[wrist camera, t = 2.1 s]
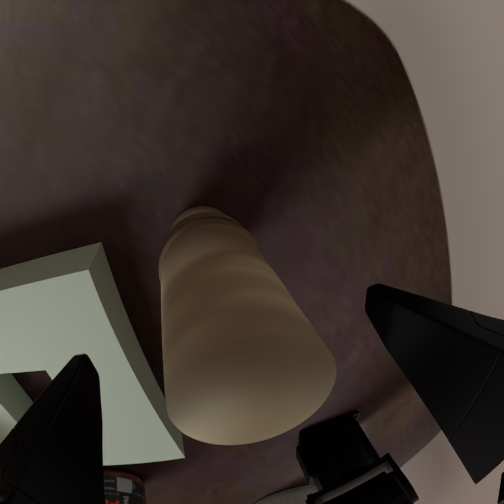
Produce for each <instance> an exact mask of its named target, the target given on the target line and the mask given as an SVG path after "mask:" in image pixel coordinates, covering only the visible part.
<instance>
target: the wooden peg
mask: <svg viewBox="0 0 504 504" xmlns="http://www.w3.org/2000/svg"><path fill="white" fill-rule="evenodd" d="M159 280H160V284H161V322H162V350H163V369H164V385H165V398H166V408H167V413H168V415H169V418H170V420H171V421H172V423H173V424H174V425H175V426H176V427H177V428H178V429H179V430H180V431H181V432H183V433H184V434H185V435H187V436H189V437H191V438H193V439H196V440H199V441H202V442H206V443H211V444H218V445H240V444H248V443H254V442H258V441H262V440H266V439H269V438H272V437H275V436H277V435H280V434H282V433H284V432H286V431H288V430H290V429H292V428H294V427H295V426H297V425H299V424H300V423H302V422H303V421H305V420H306V419H307V418H309V417H310V416H311V415H312V414H313V413H314V412H315V411H316V410H318V409H319V407H320V406H321V405H322V404H323V403H324V402H325V400H326V399H327V397H328V396H329V394H330V392H331V390H332V388H333V386H334V383H335V379H336V363H335V360H334V358H333V355H332V354H331V353H330V351H329V350H328V348H327V347H326V345H325V344H324V342H323V341H322V340H321V338H320V337H319V335H318V334H317V332H316V331H315V329H314V328H313V327H312V325H311V324H310V322H309V321H308V319H307V318H306V317H305V315H304V314H303V312H302V311H301V309H300V308H299V306H298V305H297V304H296V302H295V301H294V299H293V298H292V296H291V295H290V294H289V292H288V291H287V289H286V288H285V286H284V285H283V284H282V282H281V281H280V279H279V278H278V276H277V275H276V273H275V272H274V271H273V269H272V268H271V266H270V265H269V263H268V262H267V261H266V259H265V258H264V256H263V255H262V252H261V249H260V247H259V245H258V243H257V242H256V241H255V239H254V238H253V236H252V235H251V234H250V232H249V231H248V230H247V229H246V228H244V227H243V226H242V225H240V223H239V222H237V221H236V220H235V219H233V218H231V217H230V216H228V215H226V214H225V213H223V212H222V211H220V210H219V209H216V208H213V207H209V206H197V207H193V208H190V209H188V210H186V211H184V212H183V213H181V214H180V215H179V216H178V217H177V218H176V219H175V220H174V222H173V223H172V225H171V227H170V230H169V233H168V234H167V236H166V238H165V240H164V243H163V247H162V250H161V254H160V258H159Z"/></svg>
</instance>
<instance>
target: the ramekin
mask: <svg viewBox="0 0 504 504" xmlns="http://www.w3.org/2000/svg"><path fill="white" fill-rule="evenodd" d="M315 492H318V490H317V488H316V486H315V485H312V486H311V485H306V486H300V487H295V488H291V489H288V490H284V491H281V492H278V493H275V494H273V495H270V496H268V497H266V498H263V499H262V500H260V501H258V502H257V503H256V504H306V501H305V500H307V495H309V494H311V493H312V494H313V493H315Z"/></svg>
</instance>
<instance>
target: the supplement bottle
mask: <svg viewBox="0 0 504 504" xmlns="http://www.w3.org/2000/svg"><path fill="white" fill-rule="evenodd" d="M103 475H104V491H105V503H106V504H146V498H145V488H144V483H143V481H142V480H141V479H140V478H139V477H137V476H135V475H133V474H130V473H128V472H124V471H119V470H110V469H106V470H103Z"/></svg>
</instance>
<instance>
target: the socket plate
mask: <svg viewBox="0 0 504 504" xmlns="http://www.w3.org/2000/svg"><path fill="white" fill-rule="evenodd" d="M78 354H87V355H88V356H89V358H90V359H91V361H92V363H93V365H94V366H95V368H96V370H97V372H98V374H99V378H100V393H101V407H102V420H103V465H123V464H137V463H148V462H157V461H165V460H173V459H180V458H185V453H184V447H183V441H182V434H181V431H180V430H179V429H178V428H177V427H176V426H175V425H174V424H173V423H172V421H171V420H170V418H169V415H168V413H167V408H166V399H165V397H164V395H163V393H162V391H161V389H160V387H159V385H158V383H157V381H156V379H155V377H154V375H153V373H152V371H151V369H150V367H149V365H148V363H147V360H146V358H145V356H144V354H143V352H142V349H141V347H140V345H139V342H138V340H137V338H136V335H135V333H134V331H133V328H132V326H131V323H130V321H129V318H128V316H127V313H126V311H125V308H124V306H123V303H122V301H121V298H120V295H119V292H118V290H117V287H116V284H115V281H114V279H113V276H112V273H111V270H110V267H109V264H108V261H107V258H106V255H105V251H104V248H103V245H102V242H100V243H96V244H92V245H88V246H84V247H80V248H76V249H72V250H68V251H64V252H60V253H56V254H52V255H49V256H45V257H41V258H37V259H34V260H30V261H26V262H23V263H19V264H16V265H12V266H9V267H5V268H2V269H0V444H1V442H2V441H3V440H4V439H5V437H6V436H7V435H8V434H9V432H10V431H11V430H12V428H14V426H15V425H16V423H17V422H18V421H19V420H20V418H21V417H22V416H23V415H24V414H25V412H26V411H27V410H28V409H29V407H30V406H31V405H32V404H33V403H34V402H33V401H32V400H31V399H30V398H29V396H28V395H27V394H26V392H25V391H24V390H23V388H22V387H21V386H20V385H19V383H18V382H17V380H16V379H15V378H14V376H13V375H12V373H18V372H30V371H40V370H46V371H47V373H48V374H49V376H50V377H51V379H52V380H53V379H54V378H55V377H56V375H57V374H58V373H59V372H60V371H61V370H62V369H63V367H64V366H65V365H66V364H67V363H68V362H69V361H70V359H71V358H72V357H73V356H74V355H78Z"/></svg>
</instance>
